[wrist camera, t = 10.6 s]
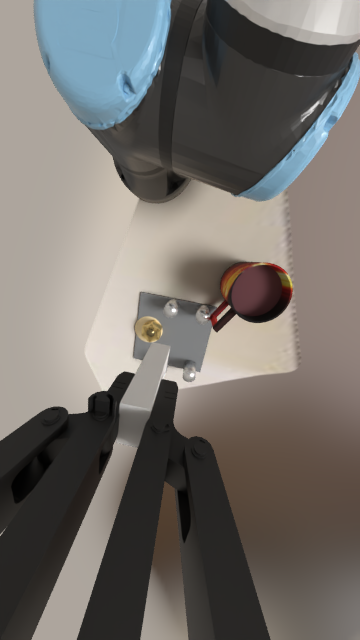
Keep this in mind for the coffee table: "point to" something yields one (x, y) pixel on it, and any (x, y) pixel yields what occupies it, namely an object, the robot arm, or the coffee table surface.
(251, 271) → the mug
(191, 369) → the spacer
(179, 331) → the mat
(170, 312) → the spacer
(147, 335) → the nut
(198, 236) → the coffee table surface
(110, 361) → the coffee table surface
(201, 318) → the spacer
